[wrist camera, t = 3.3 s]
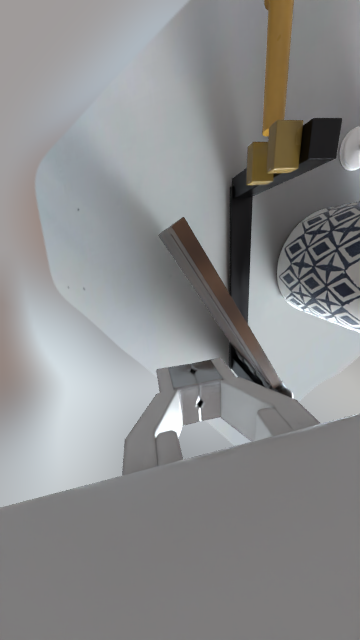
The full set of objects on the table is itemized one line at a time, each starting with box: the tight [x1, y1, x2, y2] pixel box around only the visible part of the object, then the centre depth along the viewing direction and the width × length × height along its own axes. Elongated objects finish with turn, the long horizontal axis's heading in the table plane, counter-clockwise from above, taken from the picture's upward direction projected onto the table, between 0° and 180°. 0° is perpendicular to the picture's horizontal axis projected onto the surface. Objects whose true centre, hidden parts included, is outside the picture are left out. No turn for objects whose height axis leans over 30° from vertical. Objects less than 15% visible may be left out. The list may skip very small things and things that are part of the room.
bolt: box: [262, 0, 294, 136], centre depth 14 cm, size 11×3×4 cm, turn 5°
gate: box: [158, 217, 293, 398], centre depth 24 cm, size 23×2×12 cm, turn 35°
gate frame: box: [229, 118, 342, 387], centre depth 25 cm, size 29×5×13 cm, turn 5°
